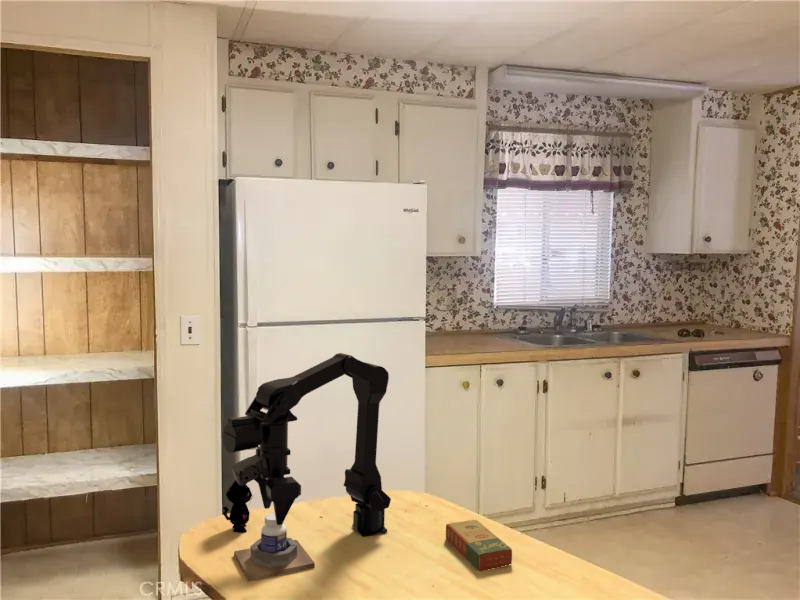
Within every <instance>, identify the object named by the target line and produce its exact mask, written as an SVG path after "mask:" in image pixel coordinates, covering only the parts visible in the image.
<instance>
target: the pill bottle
mask: <svg viewBox="0 0 800 600" xmlns="http://www.w3.org/2000/svg"><path fill="white" fill-rule="evenodd" d="M284 522H285V521H284ZM284 522H283V524H282V525H277V523H276V518H275V512H270V513H267V514H265V515H264V525H262V527H261V532H260V533H261V534H260V538H261V552H266V553H277V552H282V551H285V550H286V539H287V538H288V537H287V536H288V535H287V534H288V533H287V532H288V531H287V526H286V524H284Z"/></svg>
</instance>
